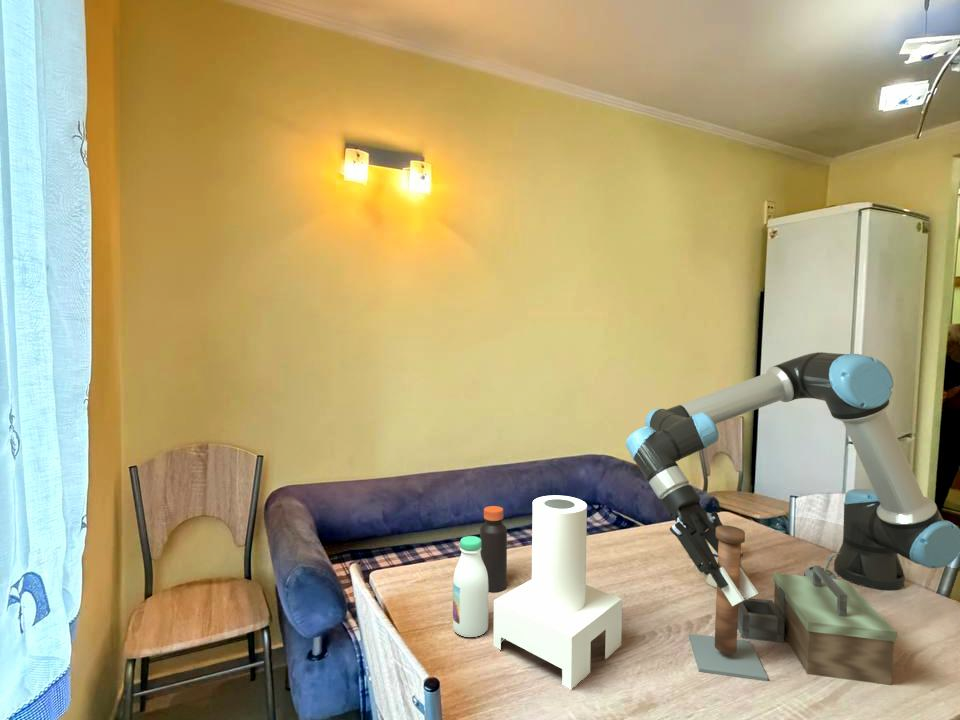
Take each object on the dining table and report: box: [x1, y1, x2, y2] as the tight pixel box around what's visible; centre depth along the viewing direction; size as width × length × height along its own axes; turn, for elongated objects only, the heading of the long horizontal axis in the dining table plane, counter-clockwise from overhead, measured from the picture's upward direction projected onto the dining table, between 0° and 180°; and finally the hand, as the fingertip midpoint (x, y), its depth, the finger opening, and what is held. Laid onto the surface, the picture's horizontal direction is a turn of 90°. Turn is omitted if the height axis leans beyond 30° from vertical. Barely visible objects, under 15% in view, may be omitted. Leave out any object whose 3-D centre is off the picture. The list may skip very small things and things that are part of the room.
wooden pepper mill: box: [714, 524, 746, 654], centre depth 105 cm, size 5×5×24 cm
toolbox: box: [737, 564, 898, 686], centre depth 109 cm, size 23×21×14 cm
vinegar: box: [479, 505, 508, 593], centre depth 134 cm, size 7×7×20 cm
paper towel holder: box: [493, 494, 623, 691], centre depth 108 cm, size 19×19×30 cm
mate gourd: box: [803, 552, 840, 579], centre depth 126 cm, size 8×8×15 cm
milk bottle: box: [452, 535, 489, 638], centre depth 115 cm, size 8×8×20 cm
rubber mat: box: [688, 633, 769, 682], centre depth 106 cm, size 12×12×1 cm
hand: (745, 599), depth 102 cm, fingers closed on wooden pepper mill, 4 cm apart
